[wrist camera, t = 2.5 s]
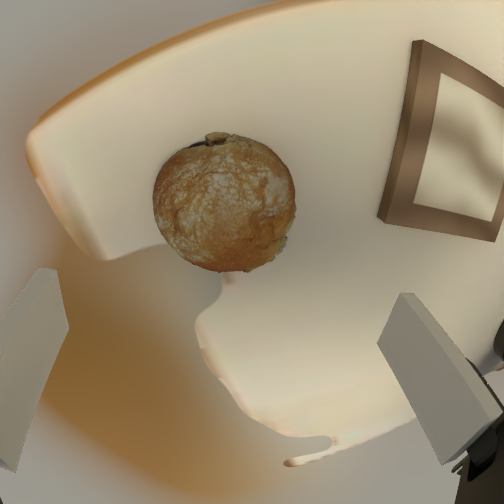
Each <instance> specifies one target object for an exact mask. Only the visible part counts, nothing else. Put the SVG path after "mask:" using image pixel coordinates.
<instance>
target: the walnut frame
mask: <svg viewBox="0 0 504 504" xmlns="http://www.w3.org/2000/svg"><path fill="white" fill-rule="evenodd" d="M377 217H378V218H379V219H380V220H382V221H383V222H384V223H386V224H392V225H399V226H405V227H411V228H418V229H424V230H429V231H435V232H441V233H447V234H452V235H458V236H463V237H469V238H474V239H479V240H485V241H490V242H495V240H496V237H497V235H498V232H499V229H500V226H501V223H502V220H503V217H504V87H502V86H501V85H500V84H498V83H497V82H495V81H494V80H492V79H491V78H489V77H488V76H486V75H485V74H483V73H482V72H480V71H479V70H477V69H475V68H474V67H472V66H471V65H469V64H467V63H466V62H464V61H462V60H460V59H459V58H457V57H455V56H453V55H452V54H450V53H448V52H446V51H444V50H442V49H441V48H439V47H437V46H435V45H433V44H431V43H429V42H427V41H425V40H417V41H413V45H412V53H411V61H410V68H409V75H408V81H407V87H406V93H405V99H404V105H403V110H402V115H401V121H400V126H399V130H398V135H397V140H396V144H395V149H394V153H393V158H392V162H391V166H390V170H389V174H388V178H387V182H386V186H385V190H384V194H383V198H382V201H381V205H380V208H379V212H378V216H377Z"/></svg>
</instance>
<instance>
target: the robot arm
mask: <svg viewBox="0 0 504 504" xmlns="http://www.w3.org/2000/svg"><path fill="white" fill-rule="evenodd" d="M68 330H69V326H68V322H67V318H66V315H65V309H64V305H63V301H62V296H61V291H60V286H59V281H58V275H57V270H53V269H45V268H39V269H38V270H37V272H36V273H35V274H34V275H33V277H32V278H31V279H30V281H29V282H28V283H27V285H26V286H25V287H24V288H23V290H22V291H21V293H20V294H19V295H18V296H17V298H16V299H15V301H14V302H13V303H12V305H11V306H10V308H9V309H8V310H7V312H6V313H5V315H4V316H3V318H2V319H1V321H0V467H2V468H4V469H7V470H9V471H12V472H14V473H16V470H17V466H18V463H19V459H20V455H21V452H22V449H23V446H24V442H25V439H26V436H27V433H28V430H29V427H30V424H31V421H32V418H33V415H34V412H35V410H36V407H37V404H38V401H39V399H40V396H41V393H42V391H43V388H44V386H45V383H46V381H47V378H48V376H49V373H50V371H51V368H52V366H53V364H54V361H55V359H56V357H57V354H58V352H59V350H60V347H61V345H62V343H63V341H64V338H65V337H66V334H67V332H68ZM377 344H378V346H379V348H380V350H381V351H382V353H383V355H384V357H385V358H386V360H387V362H388V364H389V366H390V367H391V369H392V371H393V373H394V375H395V376H396V378H397V380H398V382H399V384H400V386H401V387H402V389H403V391H404V393H405V395H406V397H407V399H408V400H409V402H410V404H411V406H412V408H413V410H414V412H415V414H416V416H417V418H418V419H419V421H420V423H421V425H422V427H423V429H424V431H425V433H426V435H427V437H428V439H429V441H430V443H431V445H432V447H433V449H434V451H435V453H436V455H437V457H438V460H439V461H440V463H441V465H444V464H446V463H448V462H451V461H453V460H455V459H457V458H458V457H459V456H460V455H461V454H462V453H463V452H464V451H465V450H467V452H468V455H467V456H466V457H465V458H464V459H462V460H461V461H460V462H459V463H458V464H457V465H455V467H453V469H452V473H454V472H455V471H456V470H458V469H459V468H460V467H461V466H463V467H462V469H460V470H459V471H458V472H457V474H458V475H461V477H460V482H459V486H458V491H457V496H456V500H455V504H504V406H503V405H502V403H501V402H500V401H499V399H498V397H497V396H496V394H495V393H494V392H493V390H492V389H491V387H490V386H489V385H487V382H486V380H485V379H484V377H482V375H481V373H480V372H479V370H478V369H477V368H476V366H475V365H474V364H473V363H471V362H470V361H469V360H468V359H467V358H466V357H464V355H463V354H462V353H461V351H460V350H459V349H458V347H457V346H456V345H455V343H454V342H453V341H452V340H451V338H450V337H449V336H448V334H447V333H446V332H445V331H444V329H443V328H442V327H441V326H440V324H439V323H438V322H437V321H436V319H435V318H434V317H433V316H432V314H431V313H430V312H429V311H428V310H427V308H426V307H425V306H424V305H423V304H422V302H421V301H420V300H419V299H418V298H417V296H416V295H415V294H414V293H400V294H399V296H398V298H397V301H396V303H395V305H394V308H393V310H392V312H391V314H390V316H389V319H388V321H387V323H386V325H385V327H384V329H383V332H382V334H381V336H380V338H379V340H378V342H377ZM494 350H495V352H496V354H497V355H498V356H499V357H500V359H501V360H502V361H504V322H503V324H502V326H501V328H500V330H499V332H498V334H497V337H496V340H495V344H494ZM0 504H3V503H2V500H1V498H0Z"/></svg>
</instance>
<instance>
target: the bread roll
mask: <svg viewBox="0 0 504 504" xmlns="http://www.w3.org/2000/svg"><path fill="white" fill-rule="evenodd" d="M205 138H206V141H203V142H199V143H196V144H193V145H191V146H190V147H188V148H184V149H182V150H180V151H179V152H177V153H176V154H175V155H173V156H172V157H171V158H170V159H169V160H168V161H167V162H166V163H165V164H164V165H163V166H162V168H161V170H160V172H159V174H158V176H157V178H156V182H155V185H154V191H153V206H154V215H155V220H156V223H157V225H158V228H159V230H160V232H161V234H162V235H163V236H164V238H165V239H166V241H167V242H168V243H169V244H170V245H171V246H172V247H173V248H174V249H175V250H176V252H177V253H178V254H179V255H180V256H181V257H182V258H184V259H185V260H187V261H189V262H191V263H192V264H193V265H197V266H199V267H202V268H204V269H207V270H210V271H216V272H218V273H220V272H228V271H244V272H247V273H248V272H250V271H251V270H253V269H255V268H257V267H259V266H261V265H264V264H265V263H267V262H270V261H273V260H274V258H275V255H278V254H279V253H280V252H282V250H283V248H284V247H285V246H286V241H287V237H285V235H286V233H287V231H288V230H289V229H290V227H291V225H292V223H293V221H294V218H295V211H296V205H295V201H294V199H295V189H294V184H293V180H292V177H291V174H290V172H289V170H288V168H287V167H286V165H285V164H284V163H283V162H282V161H281V159H280V158H279V157H278V156H277V155H276V154H275V153H274V152H273V151H272V150H271V149H270V148H269V147H267V146H266V145H264V144H261V143H258V142H256V141H254V140H251V139H249V138H245V137H240V136H238V135H235V134H234V135H233V136H230V135H229V134H227V133H219V132H214V133H211V134H208V135H206V136H205Z"/></svg>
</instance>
